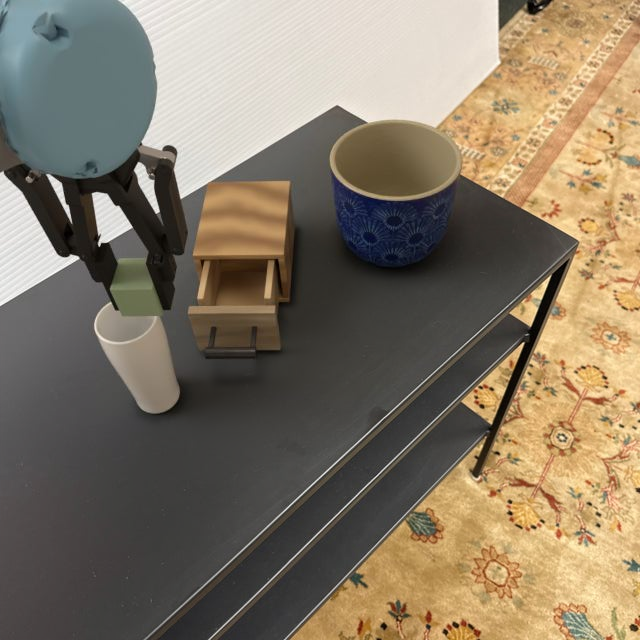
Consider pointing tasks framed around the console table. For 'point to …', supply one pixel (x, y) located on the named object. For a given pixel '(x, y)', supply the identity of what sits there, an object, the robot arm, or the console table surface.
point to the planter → (394, 189)
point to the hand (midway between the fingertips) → (145, 299)
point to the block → (135, 289)
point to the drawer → (237, 308)
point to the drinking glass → (139, 357)
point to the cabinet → (248, 226)
